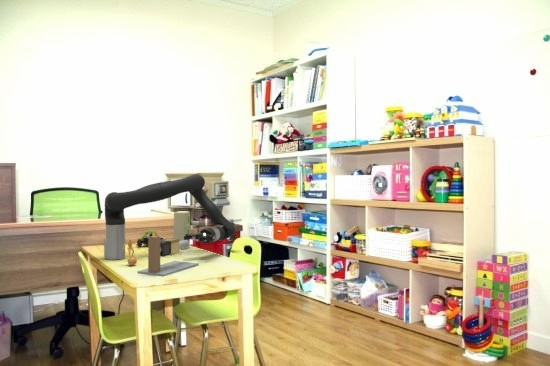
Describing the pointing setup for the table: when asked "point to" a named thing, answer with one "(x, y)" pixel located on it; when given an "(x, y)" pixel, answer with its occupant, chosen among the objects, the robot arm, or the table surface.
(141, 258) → the table surface
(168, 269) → the pipe rig
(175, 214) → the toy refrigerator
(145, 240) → the motor vehicle
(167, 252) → the dark grey slab
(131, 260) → the figurine
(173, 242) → the sleeve
